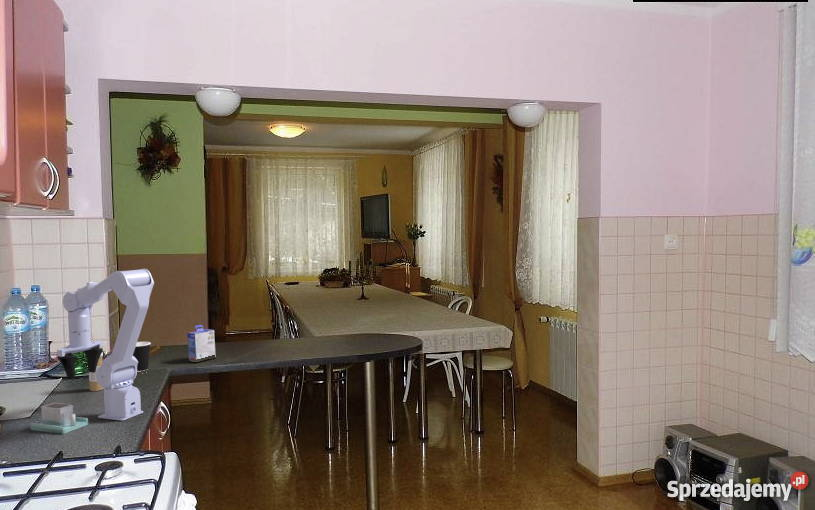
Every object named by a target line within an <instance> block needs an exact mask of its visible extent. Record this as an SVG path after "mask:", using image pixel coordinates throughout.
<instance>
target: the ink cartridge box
mask: <svg viewBox="0 0 815 510" xmlns="http://www.w3.org/2000/svg"><path fill="white" fill-rule="evenodd" d="M194 329H195V331H191V332H188V333H186V335H187V337H186V338H187V349H188V350H187V352H188V360H189V359H196V360H197V359H201V358H205V357H208V356H212V355H215V356H216V342H215V329H209V328H206V329H204V327H203V325H202V324H198V325H194Z"/></svg>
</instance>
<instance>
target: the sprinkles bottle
mask: <svg viewBox="0 0 815 510" xmlns="http://www.w3.org/2000/svg"><path fill="white" fill-rule="evenodd" d="M103 352H104V351H103ZM103 352H102V353H101V355H100V357H99V360H98V363H97V367H96V372H94V373H93V372H89V371H88V380H89V391H91V392H96V391H97V392H98V391H103V390H104V388H102V387H101V386H100V385H99V383H98V382H97V379H96V373H97V370H98V368H99V367H100V366H101V364H102V361H103V356H104V353H103Z"/></svg>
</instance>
